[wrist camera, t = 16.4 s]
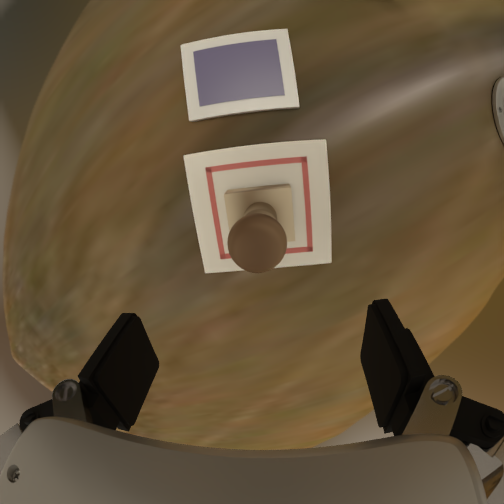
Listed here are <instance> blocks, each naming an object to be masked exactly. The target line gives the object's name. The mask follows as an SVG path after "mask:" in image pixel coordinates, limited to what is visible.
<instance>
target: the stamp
mask: <svg viewBox="0 0 504 504" xmlns="http://www.w3.org/2000/svg"><path fill="white" fill-rule="evenodd" d="M224 200H225V206H226V213H227V220H228V226H229V235H228V241H227V245H228V251H229V254H230V256H231V258H232V260H233V261H234V262H235V263H236V265H238V266H239V267H240V268H242V269H244V270H246V271H248V272H252V273H262V272H266V271H269V270H271V269H273V268H274V267H276V266H277V265H278V264H279V263H280V262H281V260H282V259H283V257H284V255H285V253H286V249H287V242H291V241H295V230H294V216H293V203H292V192H291V186H290V184H278V185H267V186H257V187H248V188H239V189H231V190H227V191H226V192H225V193H224Z"/></svg>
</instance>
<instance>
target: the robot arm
mask: <svg viewBox="0 0 504 504" xmlns="http://www.w3.org/2000/svg"><path fill="white" fill-rule="evenodd" d="M492 105H493V113H494V119H495V123H496V126H497V129H498V132H499V135H500V137H501V139H502V141H503V143H504V77H500V78H499V79H498V80H497V81H496V83H495V85H494V88H493V95H492ZM360 357H361V363H362V367H363V370H364V374H365V377H366V380H367V384H368V388H369V391H370V395H371V399H372V402H373V406H374V410H375V414H376V418H377V422H378V426H379V427H383V429H384V433H389V432H393V433H394V436H393V437H387V438H382V439H376V440H369V441H364V442H358V443H351V444H344V445H336V446H327V447H318V448H306V449H290V450H237V449H221V448H209V447H200V446H191V445H184V444H177V443H171V442H165V441H160V440H154V439H149V438H145V437H140V436H136V435H131V434H127V433H123V432H120V431H116V428H117V427H118V429H121V430H125V431H129V430H130V427H131V426H133V425H134V424H135V422H136V419H137V417H138V414H139V412H140V410H141V407H142V405H143V403H144V400H145V398H146V396H147V393H148V391H149V389H150V386H151V384H152V382H153V380H154V377H155V375H156V373H157V370H158V368H159V361H158V358H157V356H156V354H155V352H154V349H153V347H152V345H151V343H150V340H149V338H148V336H147V333H146V331H145V329H144V326H143V324H142V321H141V319H140V318H139V317H137V315H136V314H135V313H122V314H121V315H120V317H119V318H118V319H117V321H116V322H115V323H114V325H113V326H112V328H111V329H110V330H109V332H108V333H107V334H106V336H105V337H104V339H103V340H102V341H101V343H100V344H99V346H98V347H97V349H96V350H95V351H94V353H93V354H92V356H91V357H90V359H89V360H88V362H87V363H86V365H85V366H84V368H83V369H82V371H81V372H80V374H79V375H78V378H79V379H80V382H79V383H78V382H77V381H76V380H73V379H67V380H64V381H62V382H60V383H59V384H58V385H57V386H56V387H55V388H54V390H53V393H52V399H51V400H49V401H47V402H44V403H42V404H40V405H37V406H35V407H32V408H30V409H28V410H26V411H25V412H24V413H23V414H22V416H21V419H20V425H19V424H18V423H17V424H16V425H14V426H13V427H12V428H10V429H9V430H7V431H6V432H5V433H4V434H2V435H1V436H0V504H504V414H503V412H502V411H500V410H498V409H495V408H492V407H490V406H487V405H485V404H482V403H479V402H477V401H474V400H471V399H469V398H466V397H463V396H462V388H461V386H460V384H459V383H458V381H456V380H455V379H454V378H452V377H450V376H445V375H439V376H436V377H434V375H433V373H432V371H431V369H430V367H429V365H428V363H427V361H426V359H425V357H424V355H423V353H422V351H421V349H420V347H419V345H418V344H417V342H416V340H415V338H414V336H413V334H412V333H411V331H410V330H409V329H408V328H406V329H405V328H404V327H403V325H402V323H401V321H400V319H399V318H398V316H397V314H396V312H395V310H394V309H393V307H392V305H391V304H390V302H389V300H388V299H380V300H374V301H373V302H372V304H370V305H368V310H367V317H366V324H365V331H364V337H363V343H362V349H361V355H360Z"/></svg>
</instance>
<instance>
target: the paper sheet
mask: <svg viewBox="0 0 504 504" xmlns="http://www.w3.org/2000/svg"><path fill="white" fill-rule="evenodd" d="M183 156H184V162H185V169H186V175H187V181H188V187H189V192H190V198H191V204H192V209H193V215H194V220H195V225H196V230H197V236H198V241H199V246H200V250H201V255H202V260H203V265H204V269H205V273H215V272H229V271H242V270H244V269H242V268H240V267H239V266H238V265H236V263H235V262H234V261H233V260H232V258H231V256H230V254H229V251H228V245H227V241H228V235H229V226H228V220H227V213H226V206H225V200H224V193H225V192H226V191H227V190H231V189H239V188H248V187H257V186H267V185H278V184H290V186H291V192H292V203H293V216H294V230H295V241H291V242H287V249H286V253H285V255H284V257H283V259H282V260H281V262H280V263H279V264H278V265H277V266H276V267H274V268H279V267H291V266H302V265H313V264H324V263H331V261H332V253H331V207H330V186H329V170H328V157H327V145H326V139H322V140H303V141H288V142H277V143H266V144H257V145H248V146H240V147H232V148H225V149H218V150H212V151H206V152H200V153H194V154H189V155H183Z"/></svg>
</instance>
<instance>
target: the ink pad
mask: <svg viewBox="0 0 504 504" xmlns="http://www.w3.org/2000/svg"><path fill="white" fill-rule="evenodd" d="M181 54H182V64H183V73H184V82H185V91H186V99H187V107H188V115H189V121H192V122H194V121H199V120H205V119H210V118H216V117H222V116H229V115H236V114H243V113H251V112H260V111H269V110H281V109H295V108H299V107H300V106H299V99H298V91H297V84H296V77H295V71H294V64H293V58H292V52H291V47H290V41H289V35H288V30H287V29H277V30H264V31H254V32H246V33H238V34H232V35H225V36H220V37H214V38H209V39H204V40H200V41H195V42H191V43H187V44H183V45H181Z"/></svg>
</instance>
